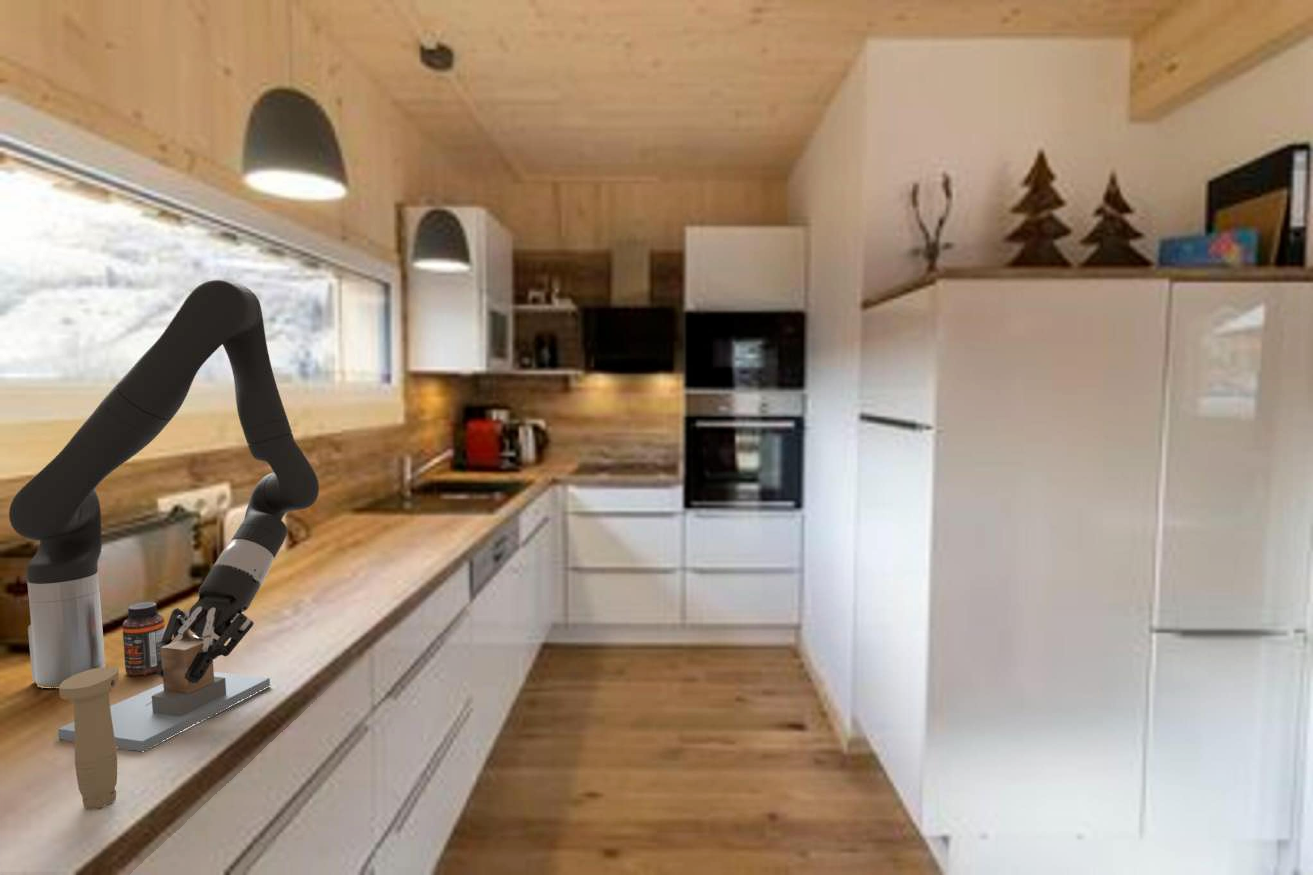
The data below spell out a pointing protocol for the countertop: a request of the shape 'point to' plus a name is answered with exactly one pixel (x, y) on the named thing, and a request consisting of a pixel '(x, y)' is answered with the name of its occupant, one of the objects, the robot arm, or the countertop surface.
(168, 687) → the block
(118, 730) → the board
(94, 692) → the handle
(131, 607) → the supplement bottle
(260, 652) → the countertop surface
